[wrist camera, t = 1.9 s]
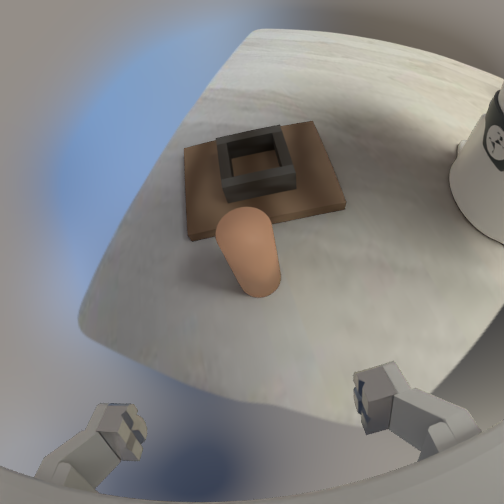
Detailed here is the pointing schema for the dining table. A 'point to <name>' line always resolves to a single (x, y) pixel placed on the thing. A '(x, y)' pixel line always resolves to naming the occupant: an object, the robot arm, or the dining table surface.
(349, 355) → the dining table surface
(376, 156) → the dining table surface
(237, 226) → the peg
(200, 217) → the collar stand
